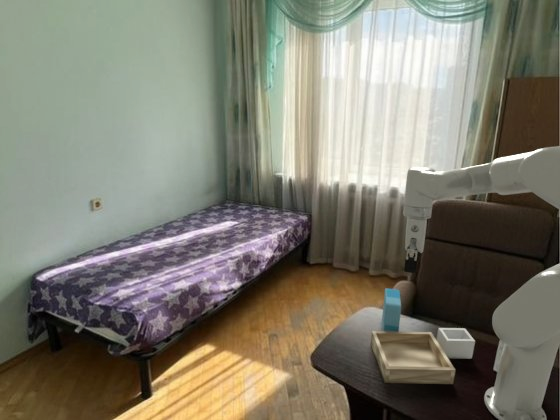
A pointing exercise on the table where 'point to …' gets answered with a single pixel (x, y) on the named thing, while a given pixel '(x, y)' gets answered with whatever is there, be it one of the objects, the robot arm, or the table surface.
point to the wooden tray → (411, 358)
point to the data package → (391, 310)
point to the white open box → (456, 342)
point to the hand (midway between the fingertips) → (411, 265)
